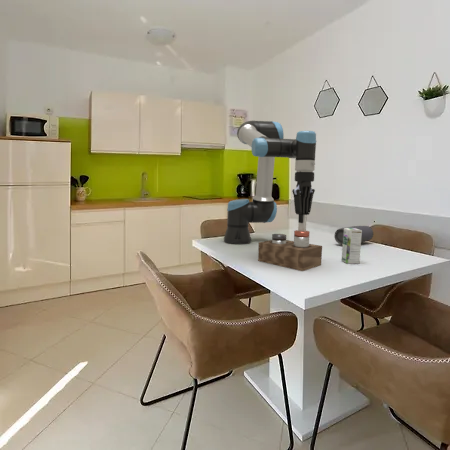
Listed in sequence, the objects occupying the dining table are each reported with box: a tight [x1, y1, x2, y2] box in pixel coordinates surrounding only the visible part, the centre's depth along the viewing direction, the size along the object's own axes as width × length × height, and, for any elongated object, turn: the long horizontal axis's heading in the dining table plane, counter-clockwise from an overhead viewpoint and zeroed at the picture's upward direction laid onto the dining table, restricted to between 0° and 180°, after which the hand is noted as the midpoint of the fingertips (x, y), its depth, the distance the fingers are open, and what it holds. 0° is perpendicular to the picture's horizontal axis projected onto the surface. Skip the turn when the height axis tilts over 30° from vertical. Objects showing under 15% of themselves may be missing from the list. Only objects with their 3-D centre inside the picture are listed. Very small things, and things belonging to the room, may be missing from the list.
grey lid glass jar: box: [271, 233, 287, 244], centre depth 148 cm, size 6×6×10 cm
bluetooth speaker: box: [333, 225, 374, 245], centre depth 188 cm, size 23×9×10 cm, turn 123°
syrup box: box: [341, 227, 362, 265], centre depth 147 cm, size 6×6×14 cm
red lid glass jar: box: [293, 229, 310, 248], centre depth 140 cm, size 6×6×10 cm
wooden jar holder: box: [257, 239, 323, 272], centre depth 144 cm, size 22×14×8 cm, turn 45°
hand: (302, 230), depth 139 cm, fingers closed
